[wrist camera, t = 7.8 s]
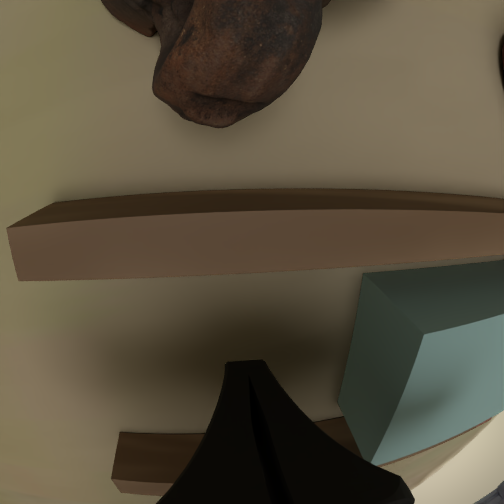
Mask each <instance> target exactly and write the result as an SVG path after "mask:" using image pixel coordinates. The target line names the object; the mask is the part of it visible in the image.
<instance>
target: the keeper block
mask: <svg viewBox="0 0 504 504" xmlns="http://www.w3.org/2000/svg"><path fill="white" fill-rule="evenodd" d="M338 404H339V407H340V409H341V411H342V413H343V415H344V417H345V420H346V422H347V424H348V426H349V428H350V431H351V433H352V435H353V437H354V439H355V442H356V444H357V446H358V448H359V450H360V453H361V455H362V457H363V459H364V460H366V461H368V462H370V463H372V464H374V465H376V466H377V465H381V464H384V463H387V462H390V461H393V460H396V459H399V458H402V457H404V456H407V455H410V454H413V453H415V452H418V451H421V450H423V449H426V448H428V447H431V446H433V445H435V444H438V443H440V442H442V441H445V440H447V439H449V438H451V437H453V436H456V435H458V434H460V433H462V432H464V431H466V430H468V429H470V428H472V427H474V426H476V425H478V424H480V423H482V422H484V421H486V420H487V419H489V418H491V417H493V416H495V415H496V414H498V413H500V412H502V411H503V410H504V260H499V261H490V262H481V263H471V264H461V265H451V266H441V267H430V268H420V269H408V270H397V271H385V272H372V273H363V278H362V285H361V291H360V297H359V303H358V309H357V315H356V320H355V325H354V331H353V336H352V341H351V346H350V350H349V355H348V360H347V364H346V369H345V373H344V377H343V381H342V386H341V390H340V394H339V398H338Z"/></svg>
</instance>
